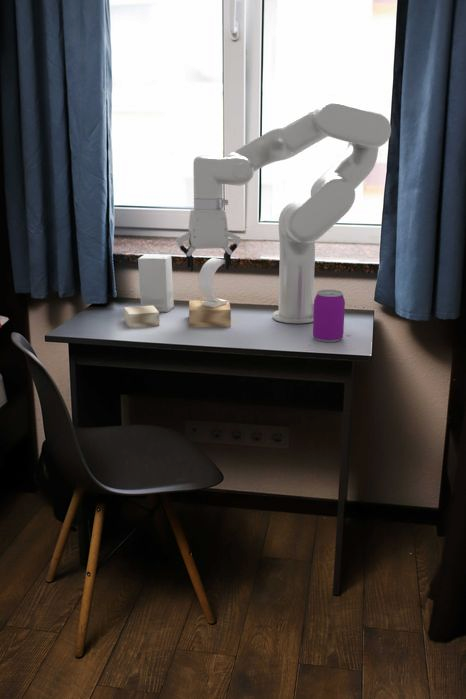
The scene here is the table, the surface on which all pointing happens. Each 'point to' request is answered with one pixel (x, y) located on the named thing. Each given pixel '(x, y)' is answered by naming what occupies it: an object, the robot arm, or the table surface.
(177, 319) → the table surface
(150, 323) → the birch block
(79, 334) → the table surface
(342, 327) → the beverage can
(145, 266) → the skincare box
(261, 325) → the table surface
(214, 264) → the white crescent piece
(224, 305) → the oak block
